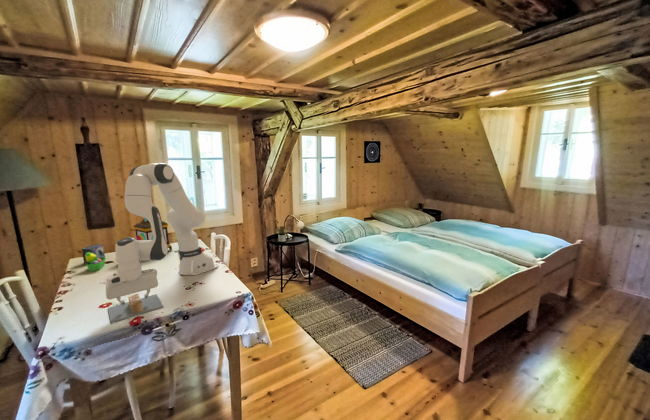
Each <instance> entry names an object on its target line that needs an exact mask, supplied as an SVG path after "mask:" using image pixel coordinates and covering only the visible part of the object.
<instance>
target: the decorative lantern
mask: <svg viewBox="0 0 650 420" xmlns="http://www.w3.org/2000/svg"><path fill="white" fill-rule="evenodd" d="M162 225H163V231H164V236H165V240H166V243H167V246H168V251H172V249H173V248H172V245H171V244H170V240H169V239H170V238H169V233H168V232H169V231H168V226H169V223H168V222H166V221H163V220H162ZM132 227H133V229H134V230H135V236H136V240H153V234H152V229H151V224H150V222H149V221H148V220H147V219H146V218H144V217H143V219H142V220H141V221H140V222H138V223H136V224H134V225H133V226H132Z"/></svg>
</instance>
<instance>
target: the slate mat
mask: <svg viewBox="0 0 650 420" xmlns="http://www.w3.org/2000/svg"><path fill="white" fill-rule="evenodd" d="M148 296H149V298H146V299H145V297H140V299H141V301H142V305H143V311H141V312H138V313H135V314H133V313H132V310H131V307H130V305H129V301H128V302H125V305H122V306H121V303H120V304H117V305H113V306H110V307H107V309H108V313H109V320H110V324H113V323H114V324H115V323H118V322H120V321H123V320H127V319H130V318H133V317H134V318H135V317H136V316H140V315H143V314H146V313H149V312H152V311H157V310H159V309H161V308H164V304H163V302H162V301H161V300H160V298H159V296H158V294H157V293H156V294H151V295H148Z"/></svg>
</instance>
